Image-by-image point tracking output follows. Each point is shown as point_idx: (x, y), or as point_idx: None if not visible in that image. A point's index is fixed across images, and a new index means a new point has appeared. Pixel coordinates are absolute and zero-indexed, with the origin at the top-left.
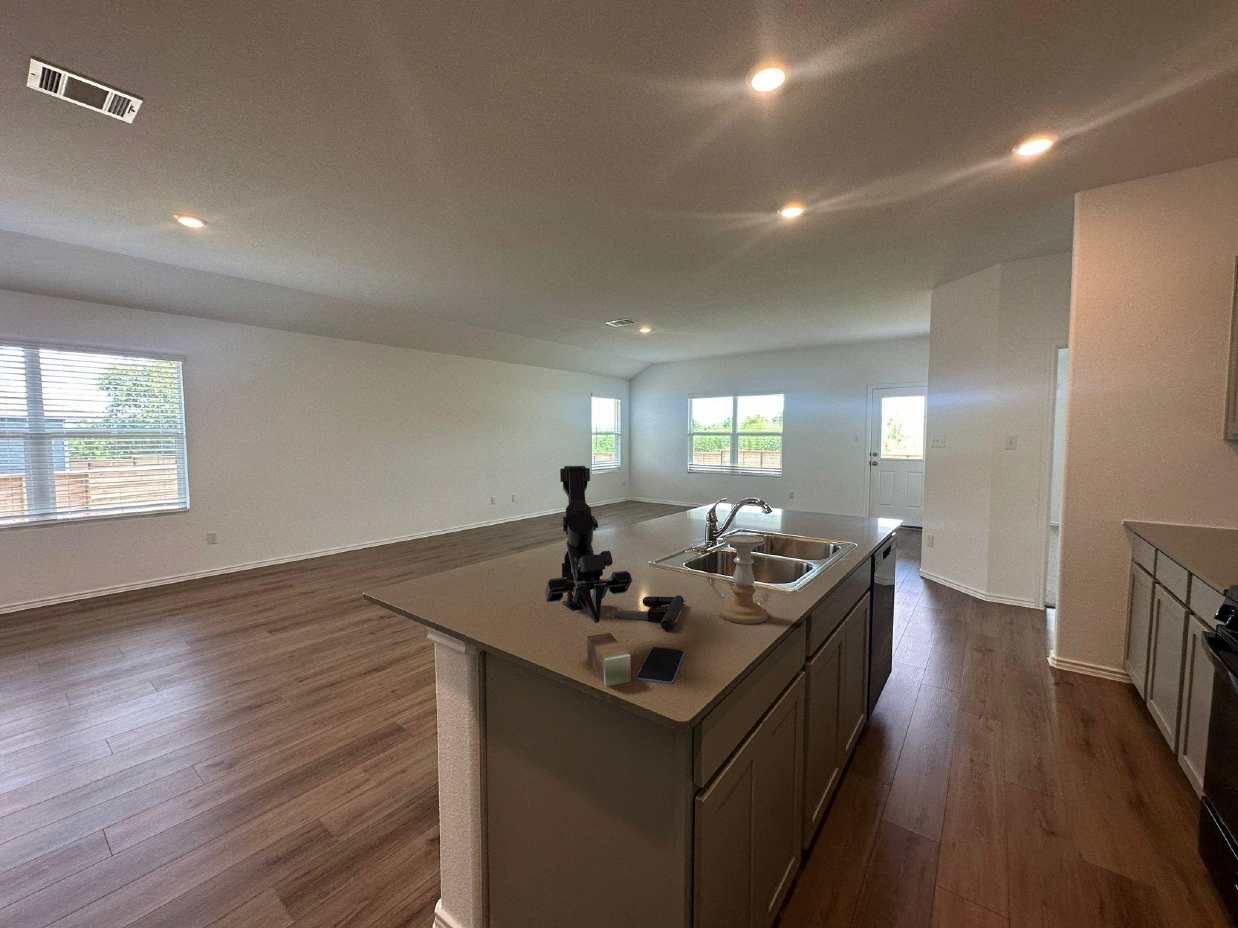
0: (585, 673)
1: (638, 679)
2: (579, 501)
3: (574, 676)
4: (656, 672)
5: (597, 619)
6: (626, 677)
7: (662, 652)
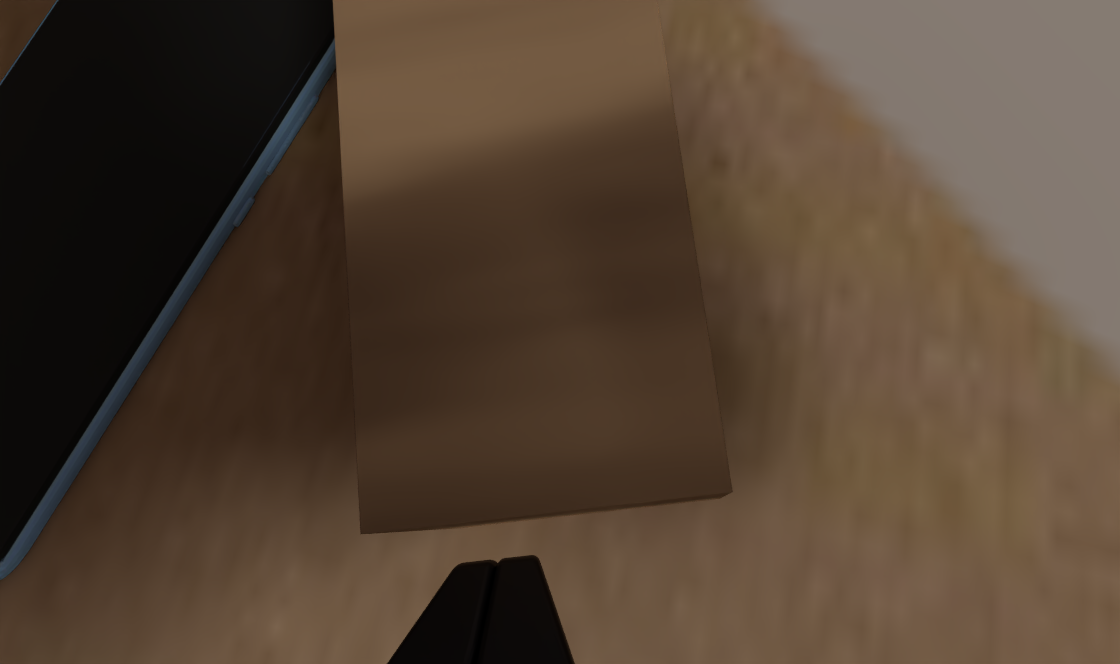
0: (781, 189)
1: None
2: None
3: (898, 150)
4: (171, 54)
5: (496, 570)
6: None
7: None
